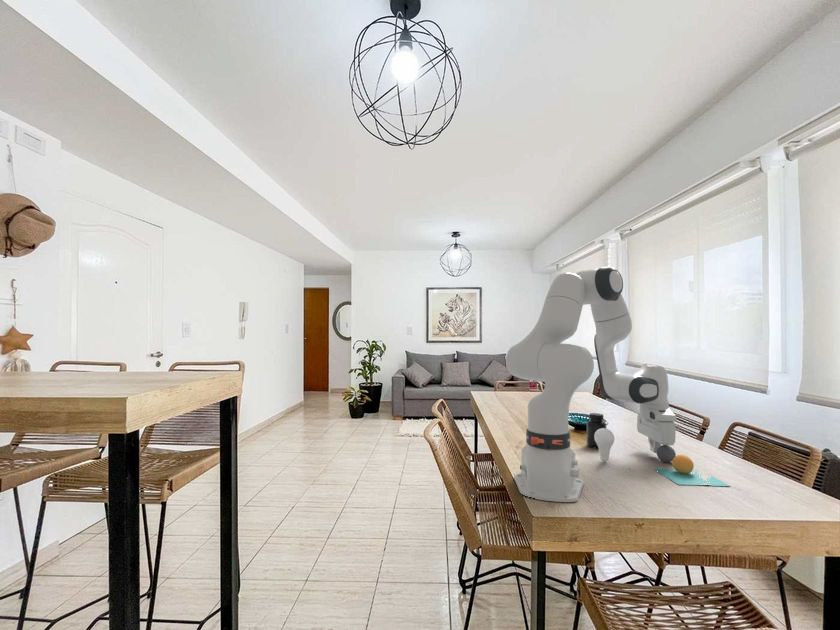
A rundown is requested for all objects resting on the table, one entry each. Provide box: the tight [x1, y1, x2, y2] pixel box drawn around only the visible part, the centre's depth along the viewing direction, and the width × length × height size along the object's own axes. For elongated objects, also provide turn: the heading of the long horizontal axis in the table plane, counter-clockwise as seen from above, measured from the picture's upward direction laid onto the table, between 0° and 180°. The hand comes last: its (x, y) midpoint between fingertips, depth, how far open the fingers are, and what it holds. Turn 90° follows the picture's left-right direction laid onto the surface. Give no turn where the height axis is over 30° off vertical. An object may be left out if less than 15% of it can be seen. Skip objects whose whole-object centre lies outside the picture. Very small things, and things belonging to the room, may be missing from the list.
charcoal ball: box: [655, 444, 677, 463], centre depth 140 cm, size 6×6×6 cm
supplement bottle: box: [586, 412, 607, 449], centre depth 159 cm, size 7×7×12 cm
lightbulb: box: [594, 427, 615, 463], centre depth 139 cm, size 6×6×11 cm
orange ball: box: [671, 454, 695, 474], centre depth 128 cm, size 6×6×6 cm
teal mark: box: [653, 468, 731, 487], centre depth 124 cm, size 14×14×1 cm
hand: (654, 452), depth 146 cm, fingers closed
